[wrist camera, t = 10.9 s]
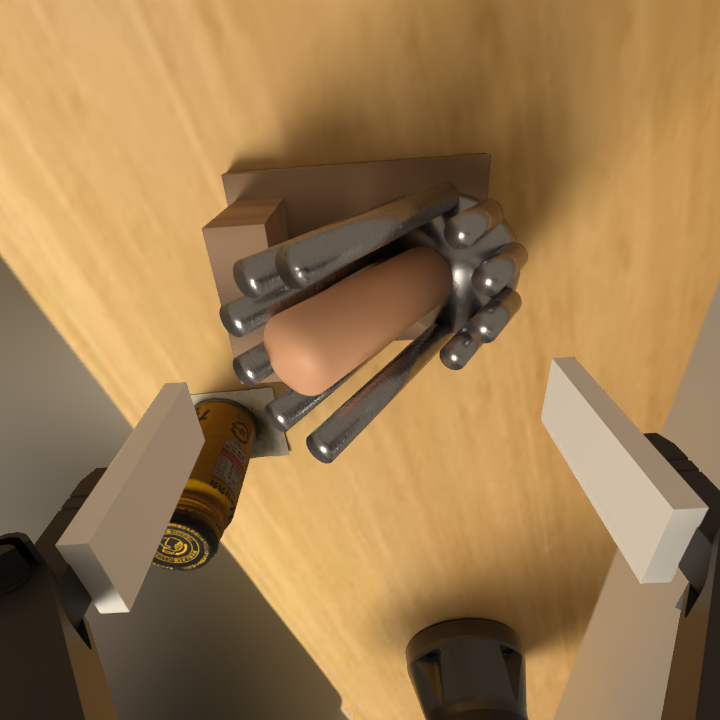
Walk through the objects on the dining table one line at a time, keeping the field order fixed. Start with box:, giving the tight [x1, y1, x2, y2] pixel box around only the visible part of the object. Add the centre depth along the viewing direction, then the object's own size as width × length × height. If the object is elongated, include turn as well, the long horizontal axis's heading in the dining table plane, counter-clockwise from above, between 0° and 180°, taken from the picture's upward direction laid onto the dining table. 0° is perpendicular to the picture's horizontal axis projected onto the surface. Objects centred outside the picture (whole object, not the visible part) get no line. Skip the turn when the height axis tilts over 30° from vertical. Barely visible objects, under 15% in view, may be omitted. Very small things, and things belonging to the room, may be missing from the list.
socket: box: [220, 181, 528, 463], centre depth 23 cm, size 10×16×15 cm, turn 94°
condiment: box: [151, 387, 289, 571], centre depth 32 cm, size 7×8×12 cm
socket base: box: [202, 153, 491, 384], centre depth 26 cm, size 12×16×8 cm
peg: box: [263, 247, 452, 396], centre depth 23 cm, size 4×4×12 cm
